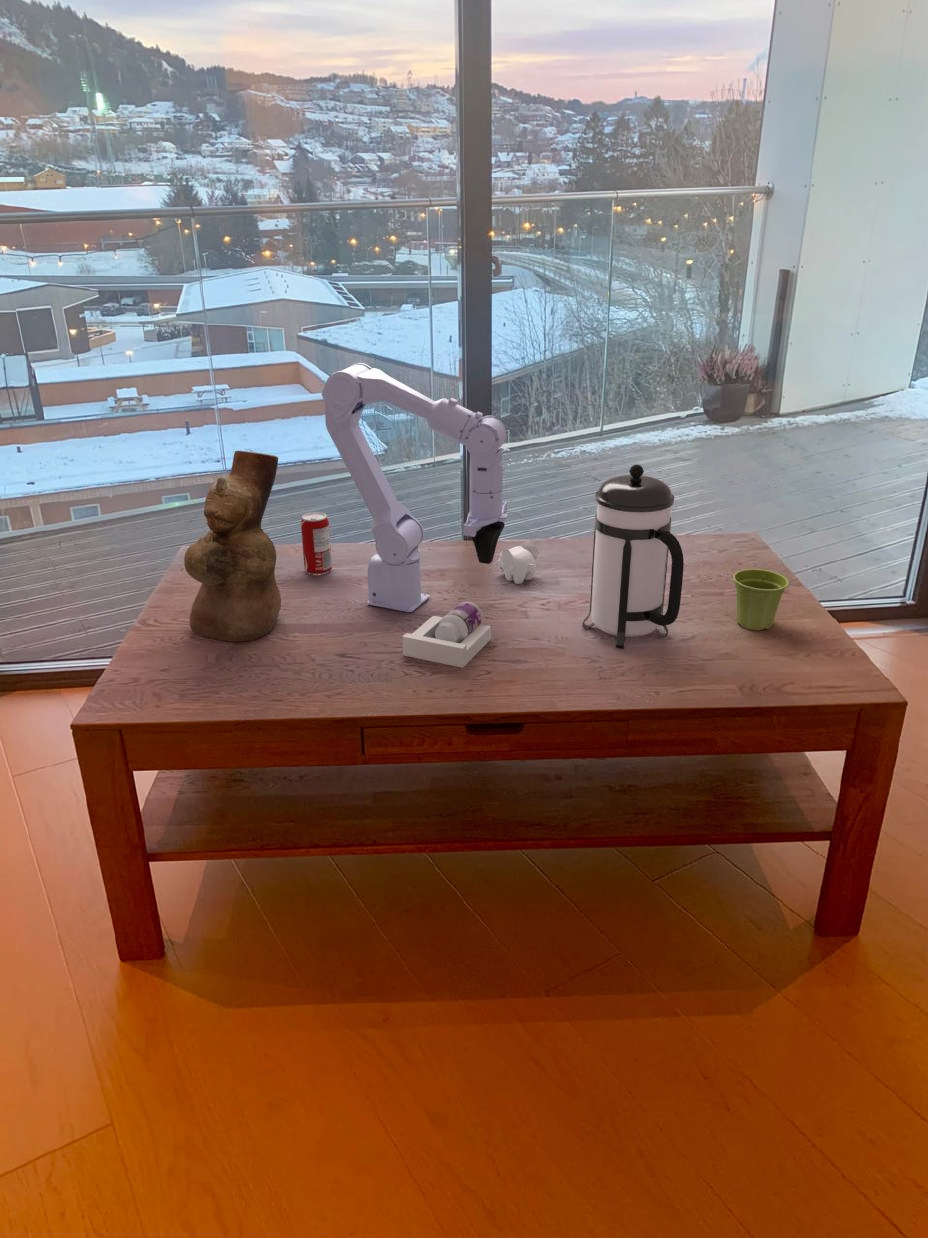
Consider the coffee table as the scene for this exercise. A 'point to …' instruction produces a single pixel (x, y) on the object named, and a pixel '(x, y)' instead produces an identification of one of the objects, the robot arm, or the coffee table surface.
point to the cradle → (444, 644)
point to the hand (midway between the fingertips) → (485, 562)
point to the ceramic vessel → (236, 555)
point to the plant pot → (758, 597)
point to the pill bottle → (459, 622)
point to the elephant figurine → (518, 562)
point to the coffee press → (634, 557)
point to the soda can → (316, 543)
